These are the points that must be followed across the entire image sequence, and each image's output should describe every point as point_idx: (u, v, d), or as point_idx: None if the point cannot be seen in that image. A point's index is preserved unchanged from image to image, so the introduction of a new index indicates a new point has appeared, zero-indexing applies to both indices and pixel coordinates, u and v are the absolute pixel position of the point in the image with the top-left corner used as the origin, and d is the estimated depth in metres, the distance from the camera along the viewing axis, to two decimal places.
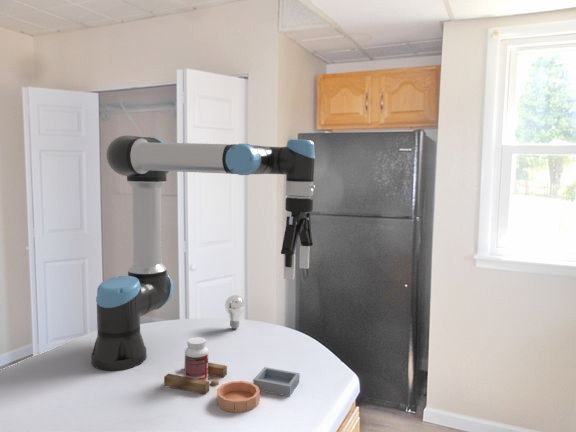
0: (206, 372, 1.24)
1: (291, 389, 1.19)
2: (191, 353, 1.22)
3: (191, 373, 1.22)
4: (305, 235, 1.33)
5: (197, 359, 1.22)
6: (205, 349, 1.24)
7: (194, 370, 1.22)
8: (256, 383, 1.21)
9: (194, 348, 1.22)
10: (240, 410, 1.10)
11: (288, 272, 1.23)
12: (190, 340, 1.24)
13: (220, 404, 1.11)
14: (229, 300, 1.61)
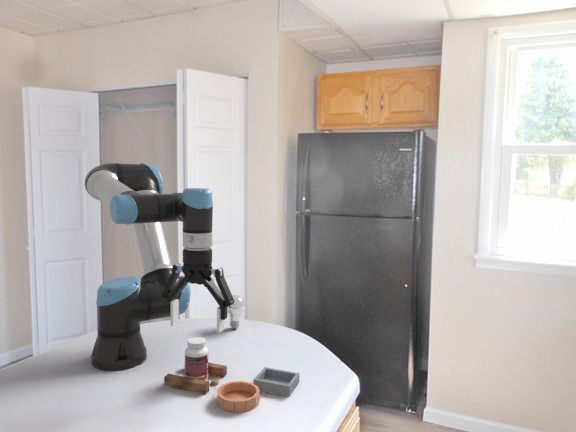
0: (206, 372, 1.24)
1: (291, 389, 1.19)
2: (191, 353, 1.22)
3: (191, 373, 1.22)
4: None
5: (197, 359, 1.22)
6: (205, 349, 1.24)
7: (194, 370, 1.22)
8: (256, 383, 1.21)
9: (194, 348, 1.22)
10: (240, 410, 1.10)
11: None
12: (190, 340, 1.24)
13: (220, 404, 1.11)
14: None
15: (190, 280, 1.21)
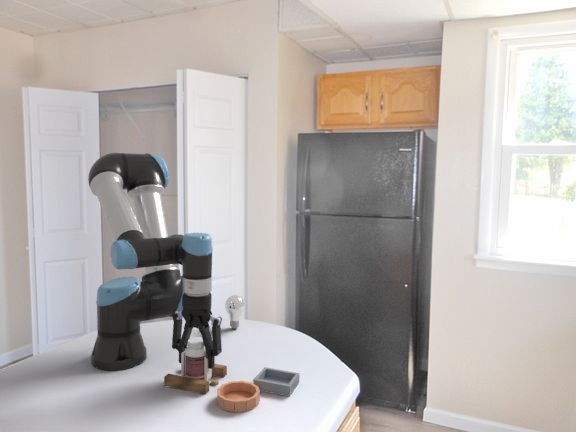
0: None
1: (291, 389, 1.19)
2: (191, 353, 1.22)
3: (191, 373, 1.22)
4: None
5: (197, 359, 1.22)
6: None
7: (194, 370, 1.22)
8: (256, 383, 1.21)
9: (194, 348, 1.22)
10: (240, 410, 1.10)
11: None
12: (190, 340, 1.24)
13: (220, 404, 1.11)
14: (229, 300, 1.61)
15: (189, 324, 1.23)
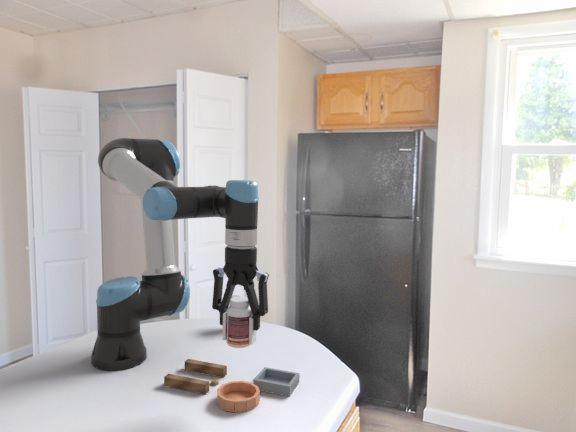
0: None
1: (291, 389, 1.19)
2: (234, 312, 1.10)
3: (235, 335, 1.10)
4: None
5: (242, 319, 1.09)
6: (249, 309, 1.12)
7: (238, 332, 1.10)
8: (256, 383, 1.21)
9: (237, 307, 1.10)
10: (240, 410, 1.10)
11: None
12: (233, 299, 1.12)
13: (220, 404, 1.11)
14: None
15: (233, 281, 1.11)
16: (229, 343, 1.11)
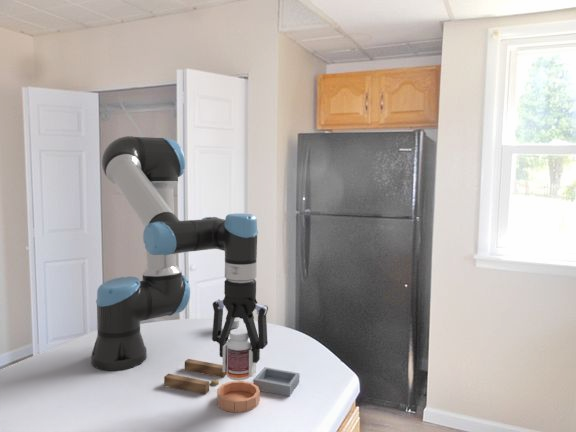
0: None
1: (291, 389, 1.19)
2: (234, 345, 1.10)
3: (235, 368, 1.11)
4: None
5: (242, 352, 1.10)
6: (249, 341, 1.13)
7: (238, 365, 1.10)
8: (256, 383, 1.21)
9: (237, 340, 1.11)
10: (240, 410, 1.10)
11: None
12: (232, 331, 1.13)
13: (220, 404, 1.11)
14: None
15: (232, 314, 1.12)
16: (229, 375, 1.12)
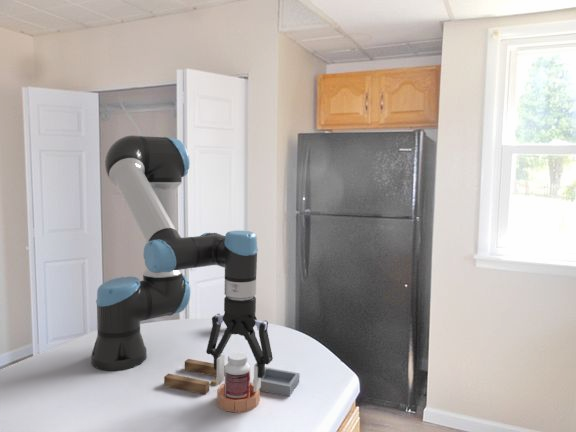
0: (248, 390, 1.13)
1: (291, 389, 1.19)
2: (232, 370, 1.11)
3: (233, 392, 1.11)
4: None
5: (239, 376, 1.11)
6: (247, 365, 1.13)
7: (236, 389, 1.11)
8: None
9: (235, 365, 1.12)
10: (240, 410, 1.10)
11: None
12: (231, 355, 1.14)
13: (220, 404, 1.11)
14: None
15: (232, 330, 1.12)
16: None
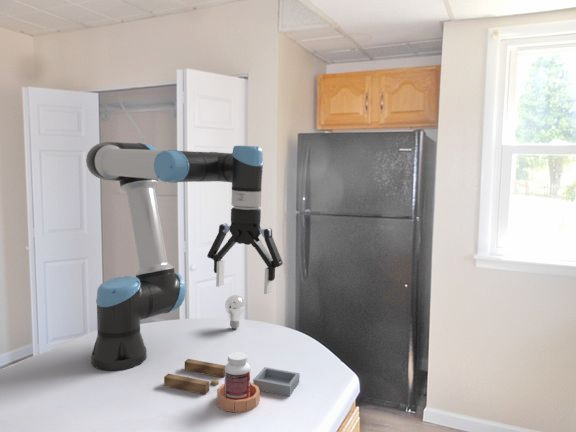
0: (248, 390, 1.13)
1: (291, 389, 1.19)
2: (232, 370, 1.11)
3: (233, 392, 1.11)
4: None
5: (239, 376, 1.11)
6: (247, 365, 1.13)
7: (236, 389, 1.11)
8: (256, 383, 1.21)
9: (235, 365, 1.12)
10: (240, 410, 1.10)
11: None
12: (231, 355, 1.13)
13: (220, 404, 1.11)
14: (229, 300, 1.61)
15: (238, 240, 1.19)
16: None
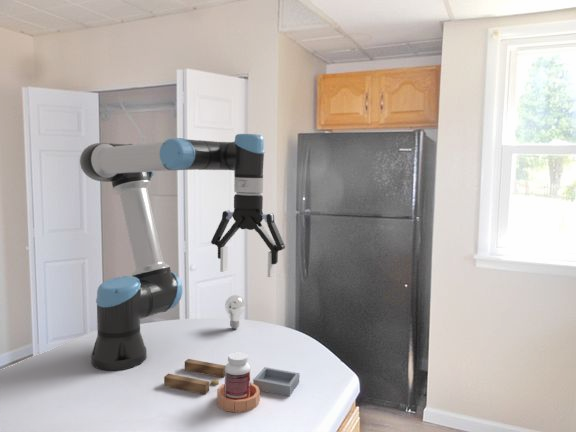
0: (248, 391, 1.13)
1: (291, 389, 1.19)
2: (232, 370, 1.11)
3: (233, 392, 1.11)
4: None
5: (240, 376, 1.11)
6: (247, 365, 1.13)
7: (236, 389, 1.11)
8: (256, 383, 1.21)
9: (235, 365, 1.12)
10: (240, 410, 1.10)
11: None
12: (231, 355, 1.13)
13: (220, 404, 1.11)
14: (229, 300, 1.61)
15: (241, 226, 1.23)
16: None
